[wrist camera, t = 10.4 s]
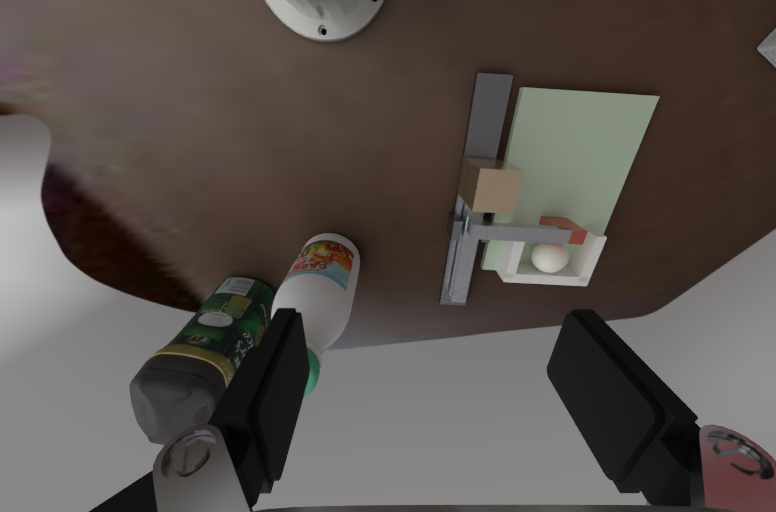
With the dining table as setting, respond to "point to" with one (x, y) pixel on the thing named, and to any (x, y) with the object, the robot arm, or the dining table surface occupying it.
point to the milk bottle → (321, 293)
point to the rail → (477, 155)
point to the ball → (550, 257)
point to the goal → (569, 275)
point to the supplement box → (769, 47)
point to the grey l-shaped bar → (498, 195)
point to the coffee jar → (200, 360)
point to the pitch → (570, 158)
